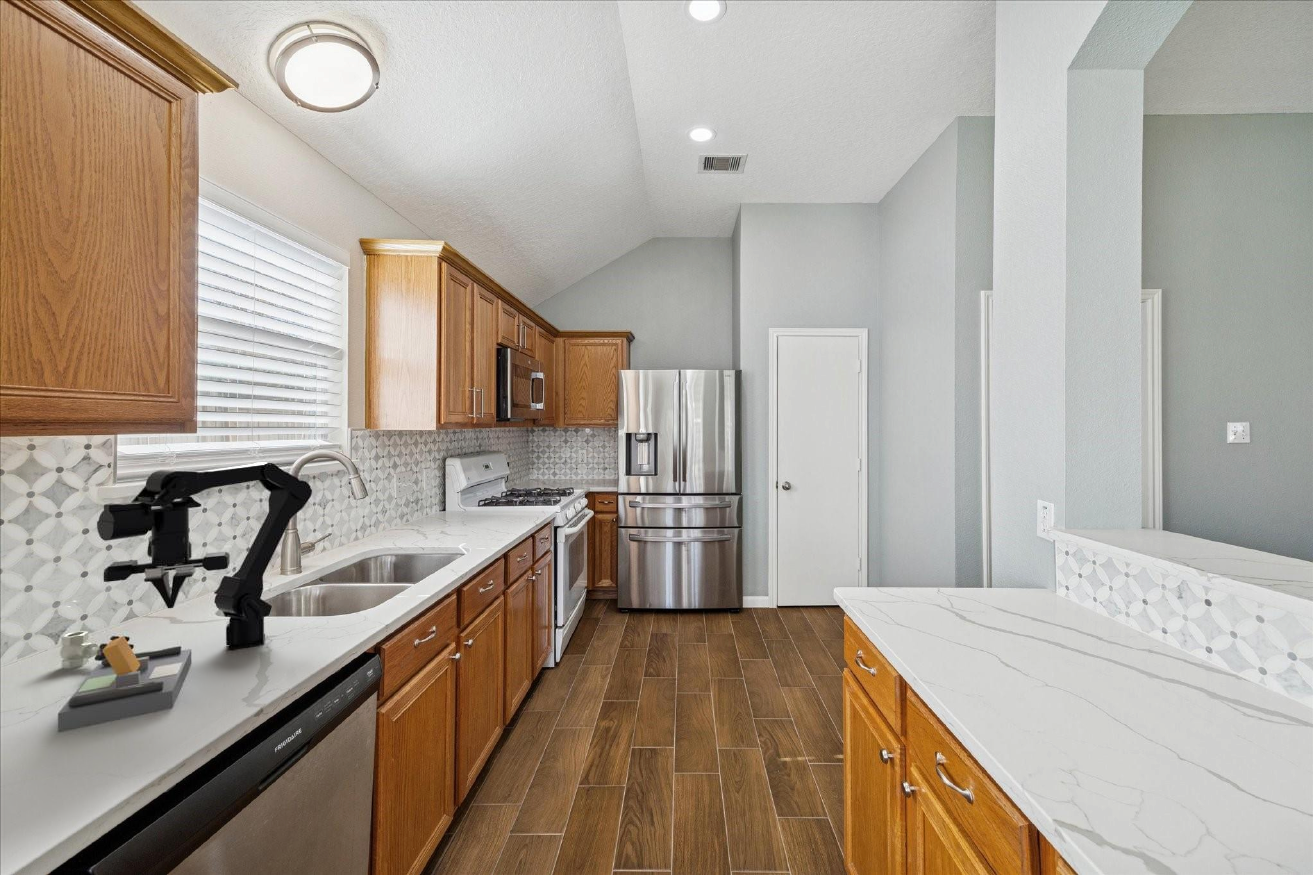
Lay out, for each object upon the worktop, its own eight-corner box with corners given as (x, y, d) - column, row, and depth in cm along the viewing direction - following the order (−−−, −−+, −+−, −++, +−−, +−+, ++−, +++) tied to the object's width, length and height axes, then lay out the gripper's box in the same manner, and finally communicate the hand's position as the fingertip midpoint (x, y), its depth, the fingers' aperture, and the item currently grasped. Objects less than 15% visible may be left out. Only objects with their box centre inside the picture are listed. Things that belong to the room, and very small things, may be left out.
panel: (191, 663, 114) (191, 639, 114) (172, 707, 96) (172, 679, 96) (98, 679, 107) (97, 654, 107) (58, 731, 88) (57, 701, 88)
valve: (47, 672, 110) (99, 675, 109) (46, 639, 110) (98, 642, 109) (84, 658, 117) (134, 661, 115) (84, 627, 117) (134, 630, 115)
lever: (140, 664, 104) (123, 635, 102) (134, 674, 100) (116, 644, 98) (127, 670, 103) (109, 641, 101) (120, 680, 99) (102, 650, 97)
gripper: (231, 522, 123) (232, 590, 124) (117, 530, 113) (118, 605, 113) (226, 529, 114) (227, 603, 114) (102, 539, 104) (103, 620, 104)
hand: (171, 607), depth 112 cm, fingers closed
